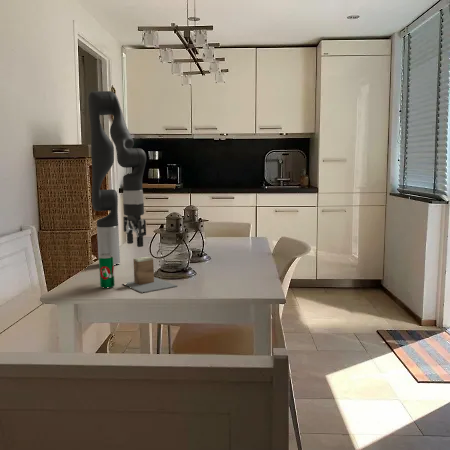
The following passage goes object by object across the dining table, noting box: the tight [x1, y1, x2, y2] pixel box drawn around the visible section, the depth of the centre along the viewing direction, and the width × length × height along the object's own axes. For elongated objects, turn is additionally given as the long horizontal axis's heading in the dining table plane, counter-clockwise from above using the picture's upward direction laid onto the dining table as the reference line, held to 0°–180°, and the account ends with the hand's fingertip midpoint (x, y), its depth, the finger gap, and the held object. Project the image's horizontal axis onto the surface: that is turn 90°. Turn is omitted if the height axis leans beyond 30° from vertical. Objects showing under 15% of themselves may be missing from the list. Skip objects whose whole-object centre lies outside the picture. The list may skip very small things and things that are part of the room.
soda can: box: [98, 253, 116, 289], centre depth 172 cm, size 5×5×12 cm
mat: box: [126, 277, 178, 293], centre depth 174 cm, size 16×14×1 cm
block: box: [133, 256, 155, 285], centre depth 177 cm, size 4×6×9 cm, turn 126°
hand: (135, 245), depth 181 cm, fingers open, 8 cm apart
